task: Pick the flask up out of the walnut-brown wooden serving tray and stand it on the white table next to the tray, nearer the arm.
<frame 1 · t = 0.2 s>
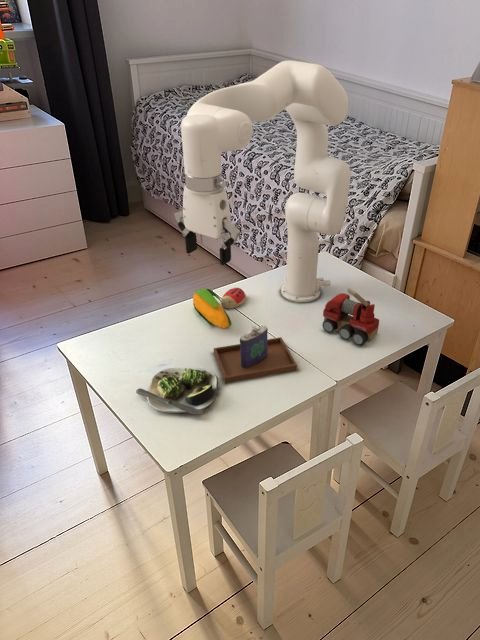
hand: (208, 256, 123), 31 cm above the table, tool pointing down, fingers open, 9 cm apart
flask: (254, 361, 144), resting in tray
toy fire truck: (346, 335, 155), on the table
corn: (213, 320, 159), on the table
tray: (254, 361, 144), on the table
avocado toast plate: (185, 394, 133), on the table
ladybug figurine: (233, 302, 167), on the table
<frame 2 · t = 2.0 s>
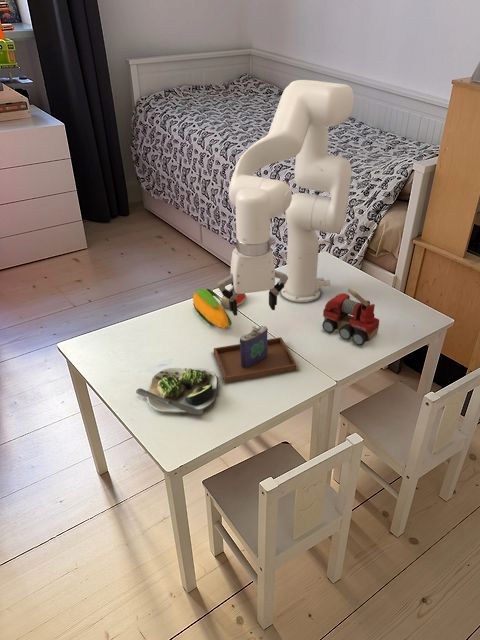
hand: (253, 310, 133), 16 cm above the table, tool pointing down, fingers open, 9 cm apart
nothing on the table moved.
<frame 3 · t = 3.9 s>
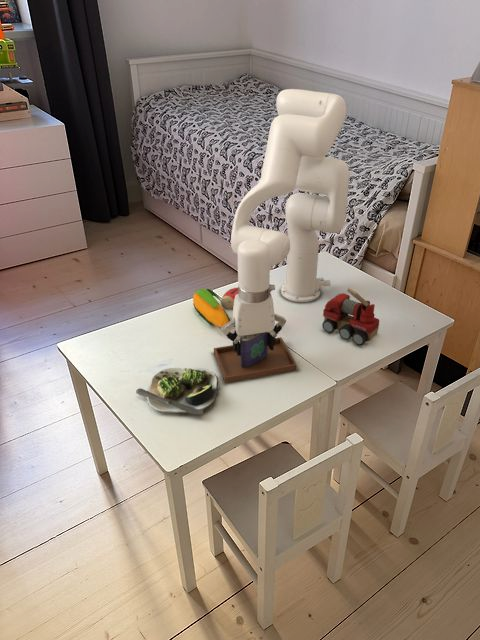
hand: (254, 349, 141), 4 cm above the table, tool pointing down, fingers closed on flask, 8 cm apart
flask: (254, 361, 144), resting in tray, touching gripper
everything else where it was.
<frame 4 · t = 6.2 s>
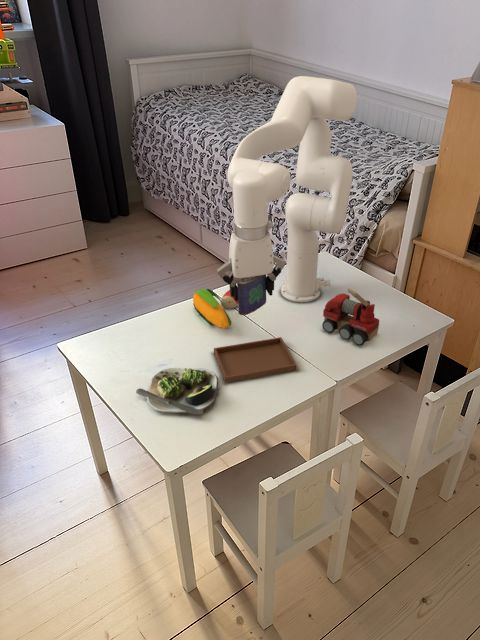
hand: (252, 295, 134), 19 cm above the table, tool pointing down, fingers closed on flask, 8 cm apart
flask: (252, 308, 137), point 15 cm above the table, touching gripper
everything else where it was.
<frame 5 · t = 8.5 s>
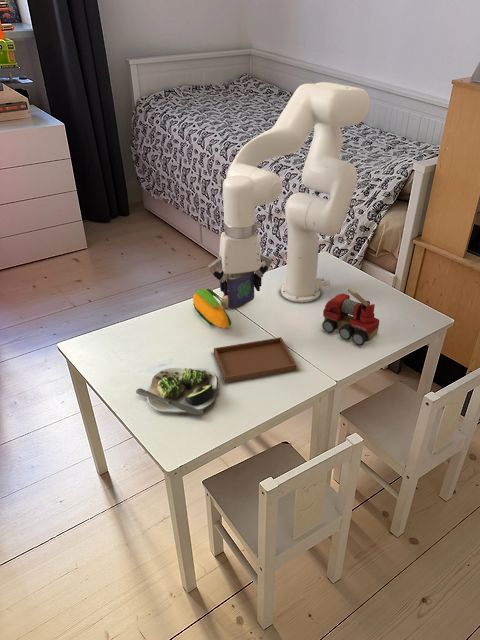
hand: (241, 290, 144), 14 cm above the table, tool pointing down, fingers closed on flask, 8 cm apart
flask: (241, 303, 147), point 10 cm above the table, touching gripper
everything else where it was.
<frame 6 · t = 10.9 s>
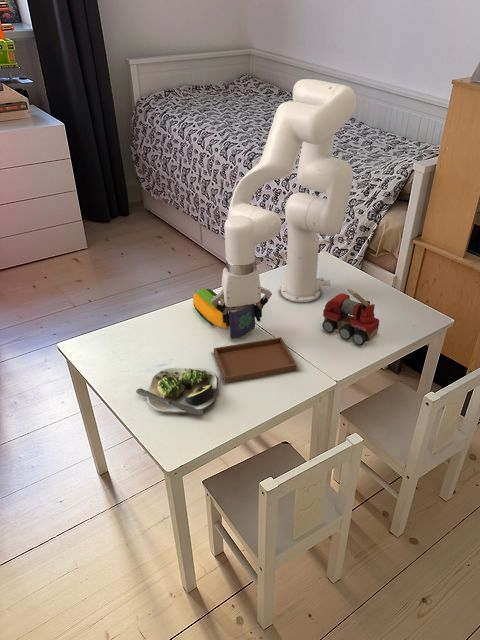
hand: (242, 321, 151), 5 cm above the table, tool pointing down, fingers closed on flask, 8 cm apart
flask: (243, 332, 153), point 1 cm above the table, touching gripper
everything else where it was.
when the fingers open (4 cm above the table, at t = 13.5 s): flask stays where it is, on the table.
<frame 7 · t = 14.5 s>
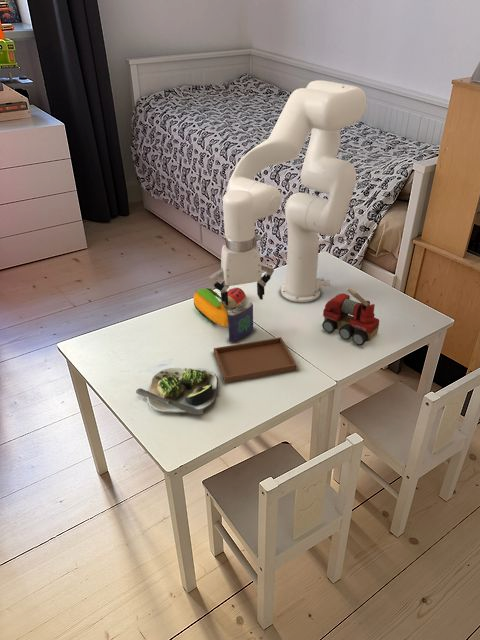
hand: (243, 300, 147), 11 cm above the table, tool pointing down, fingers open, 9 cm apart
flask: (241, 336, 153), on the table
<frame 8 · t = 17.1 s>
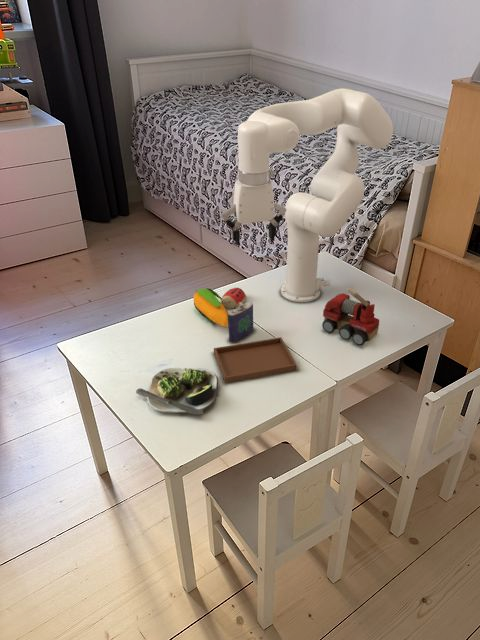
hand: (254, 240, 145), 24 cm above the table, tool pointing down, fingers open, 9 cm apart
nothing on the table moved.
at the end: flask inside the target area (0.3 cm from its centre), on the table; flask touching table; the gripper is holding nothing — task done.
